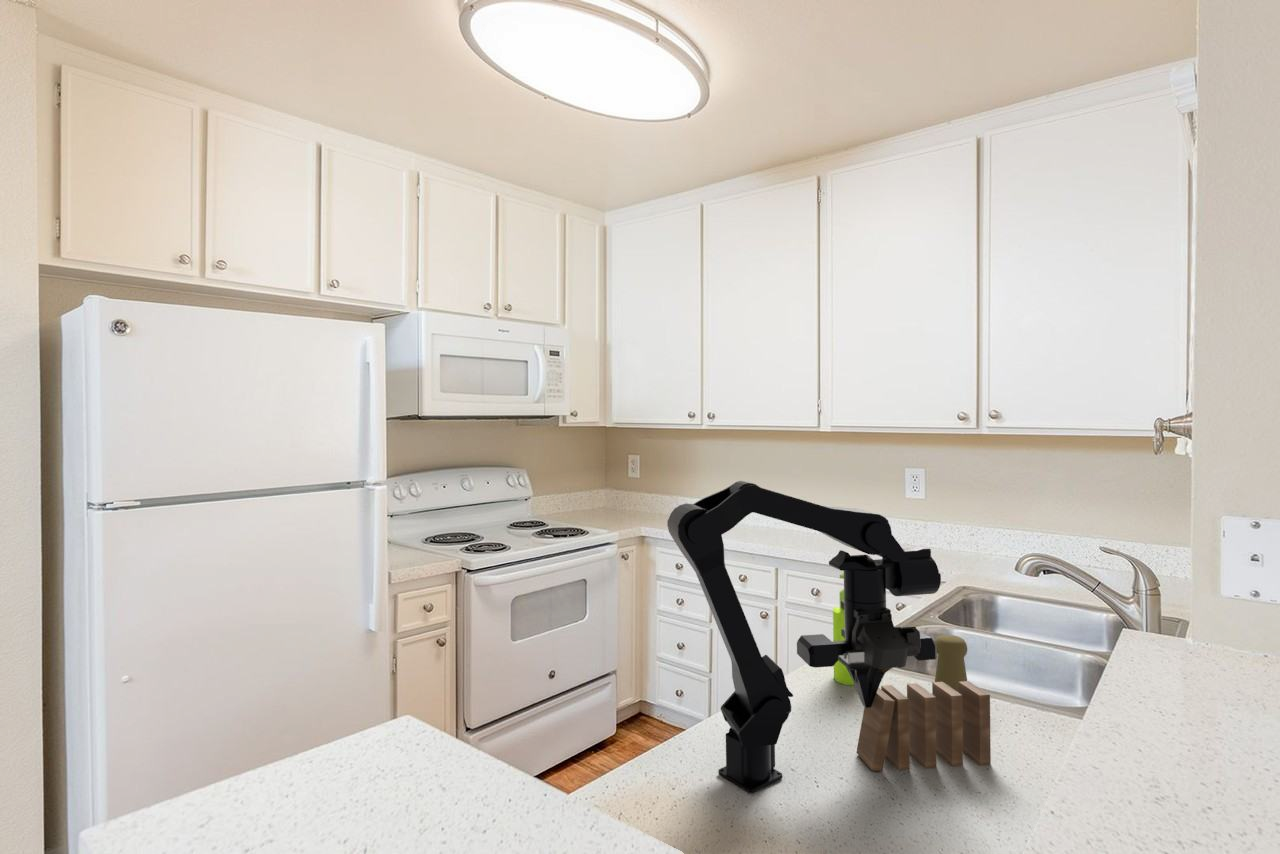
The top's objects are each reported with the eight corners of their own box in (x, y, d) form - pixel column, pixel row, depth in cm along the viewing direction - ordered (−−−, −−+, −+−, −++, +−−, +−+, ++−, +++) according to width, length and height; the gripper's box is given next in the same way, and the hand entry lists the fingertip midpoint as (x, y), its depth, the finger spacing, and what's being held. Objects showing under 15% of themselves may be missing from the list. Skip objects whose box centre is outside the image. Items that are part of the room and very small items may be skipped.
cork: (975, 707, 113) (974, 643, 113) (937, 705, 115) (936, 641, 115) (965, 693, 119) (964, 632, 119) (929, 691, 121) (928, 630, 120)
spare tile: (980, 765, 95) (979, 695, 95) (959, 748, 100) (958, 681, 100) (990, 764, 95) (989, 694, 95) (969, 747, 100) (968, 681, 100)
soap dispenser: (865, 689, 122) (864, 580, 122) (829, 680, 126) (827, 575, 126) (876, 679, 127) (874, 573, 126) (840, 671, 131) (839, 569, 130)
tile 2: (899, 770, 94) (898, 699, 94) (882, 752, 99) (881, 685, 99) (909, 769, 94) (908, 698, 94) (892, 752, 99) (891, 684, 99)
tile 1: (872, 770, 93) (884, 699, 93) (856, 752, 98) (868, 685, 98) (882, 771, 94) (894, 701, 94) (866, 754, 98) (878, 687, 99)
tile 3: (925, 768, 94) (925, 697, 94) (907, 750, 99) (906, 683, 99) (936, 767, 94) (935, 697, 94) (917, 750, 99) (917, 683, 99)
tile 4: (952, 766, 95) (951, 695, 95) (932, 748, 100) (932, 682, 100) (962, 765, 95) (962, 695, 95) (943, 748, 100) (942, 681, 100)
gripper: (824, 618, 87) (826, 738, 87) (959, 610, 89) (961, 727, 89) (794, 596, 98) (796, 702, 98) (915, 589, 100) (917, 693, 100)
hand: (866, 706), depth 96 cm, fingers closed
